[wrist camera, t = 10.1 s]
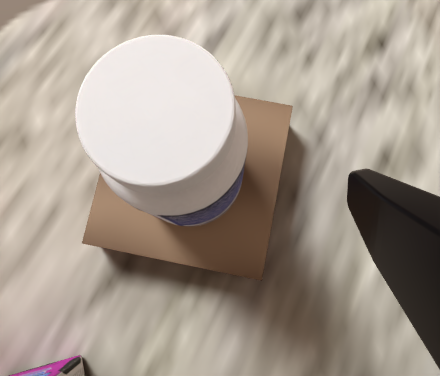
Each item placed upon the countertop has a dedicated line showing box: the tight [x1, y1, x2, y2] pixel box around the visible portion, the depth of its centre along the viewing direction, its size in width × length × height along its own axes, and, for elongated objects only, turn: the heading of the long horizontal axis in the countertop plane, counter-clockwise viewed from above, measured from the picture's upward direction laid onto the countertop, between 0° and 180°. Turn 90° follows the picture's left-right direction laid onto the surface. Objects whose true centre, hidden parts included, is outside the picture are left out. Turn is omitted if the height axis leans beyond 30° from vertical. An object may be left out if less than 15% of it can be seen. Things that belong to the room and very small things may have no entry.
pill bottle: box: [75, 35, 248, 227], centre depth 15 cm, size 6×6×10 cm
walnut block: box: [82, 96, 293, 281], centre depth 21 cm, size 10×10×2 cm
